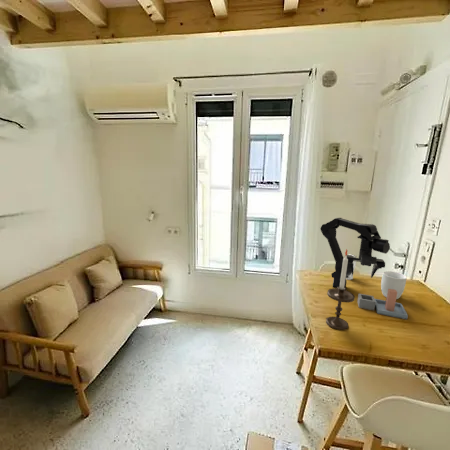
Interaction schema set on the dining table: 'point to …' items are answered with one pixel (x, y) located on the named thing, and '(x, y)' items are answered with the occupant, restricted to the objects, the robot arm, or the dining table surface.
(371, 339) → the dining table surface
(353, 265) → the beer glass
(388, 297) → the peg
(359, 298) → the hollow square socket
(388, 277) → the mug
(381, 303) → the tray
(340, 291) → the candlestick
